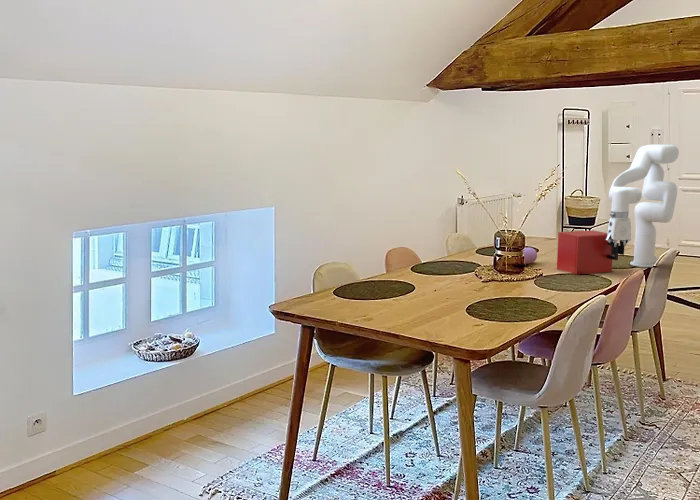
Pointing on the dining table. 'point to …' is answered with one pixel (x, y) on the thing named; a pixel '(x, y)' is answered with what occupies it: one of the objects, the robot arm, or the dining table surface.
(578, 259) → the door
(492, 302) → the dining table surface
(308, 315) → the dining table surface
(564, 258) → the cabinet
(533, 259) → the toy
